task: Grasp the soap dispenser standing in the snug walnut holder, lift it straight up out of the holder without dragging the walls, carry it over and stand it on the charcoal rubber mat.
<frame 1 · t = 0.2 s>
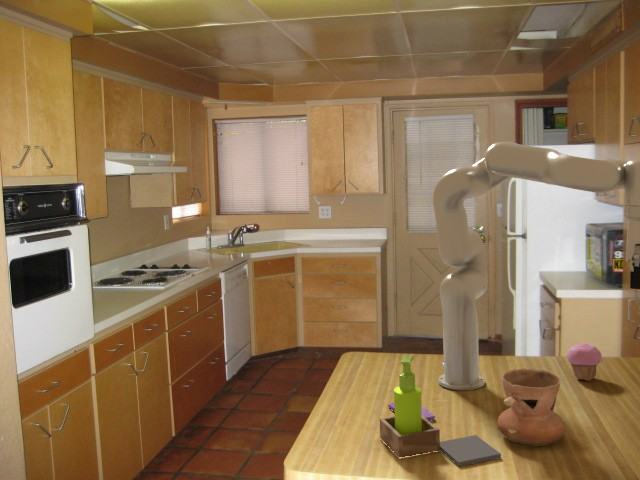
soap dispenser: (409, 446, 147), resting in holder
ceramic jug: (532, 438, 148), on the worktop
sponges: (411, 416, 164), on the worktop
cupcake: (584, 379, 183), on the worktop
holder: (409, 445, 146), on the worktop
mat: (467, 452, 142), on the worktop
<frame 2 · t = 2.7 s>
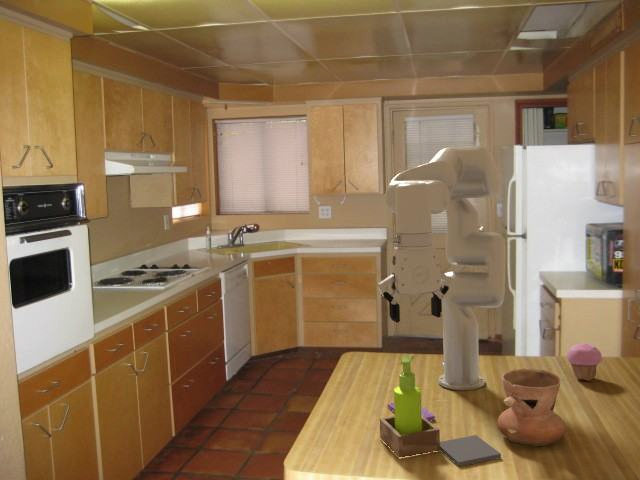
hand: (415, 318, 143), 29 cm above the worktop, tool pointing down, fingers open, 9 cm apart
nothing on the worktop moved.
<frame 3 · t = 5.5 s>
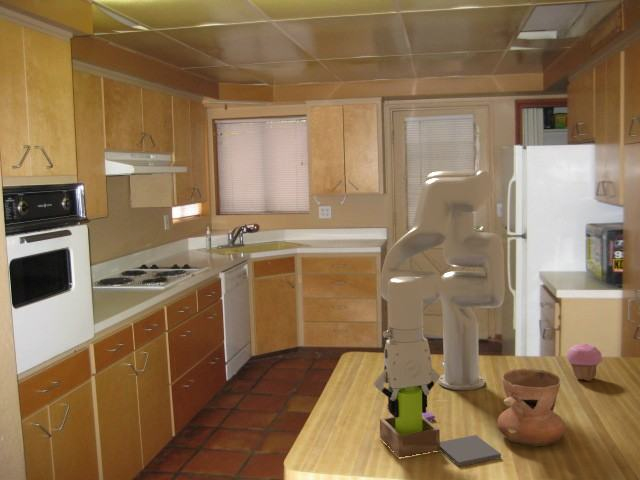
hand: (408, 412, 145), 8 cm above the worktop, tool pointing down, fingers closed on soap dispenser, 5 cm apart
soap dispenser: (409, 445, 146), resting in holder, touching gripper
everything else where it was.
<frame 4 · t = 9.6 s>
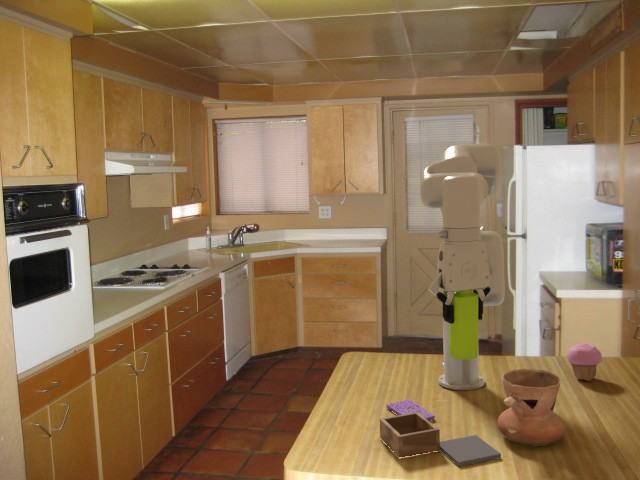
hand: (463, 319, 138), 29 cm above the worktop, tool pointing down, fingers closed on soap dispenser, 5 cm apart
soap dispenser: (464, 355, 139), point 22 cm above the worktop, touching gripper
everything else where it was.
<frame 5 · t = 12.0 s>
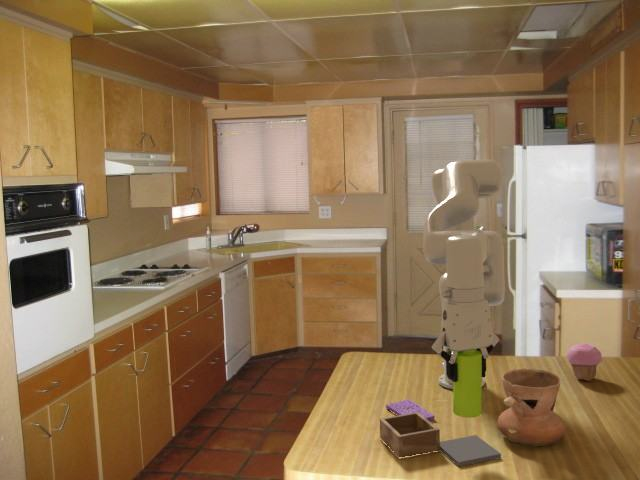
hand: (466, 376, 140), 17 cm above the worktop, tool pointing down, fingers closed on soap dispenser, 5 cm apart
soap dispenser: (467, 412, 141), point 9 cm above the worktop, touching gripper
everything else where it was.
when the fingers open (9 cm above the worktop, at t = 14.0 s): soap dispenser stays where it is, resting on mat.
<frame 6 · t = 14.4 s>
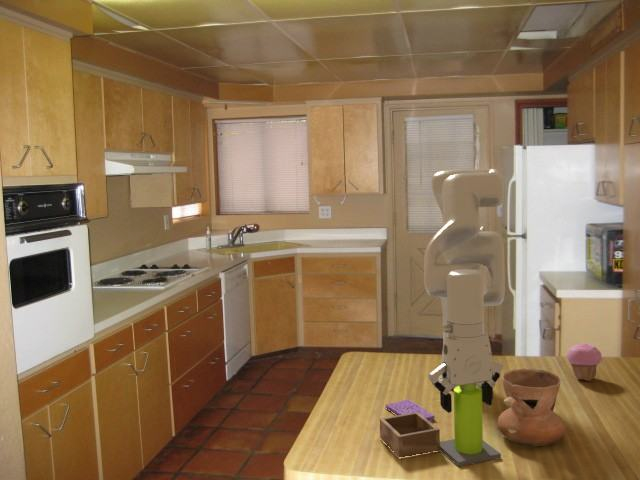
hand: (466, 406, 140), 10 cm above the worktop, tool pointing down, fingers open, 9 cm apart
soap dispenser: (468, 447, 142), point 1 cm above the worktop, touching mat
everything else where it was.
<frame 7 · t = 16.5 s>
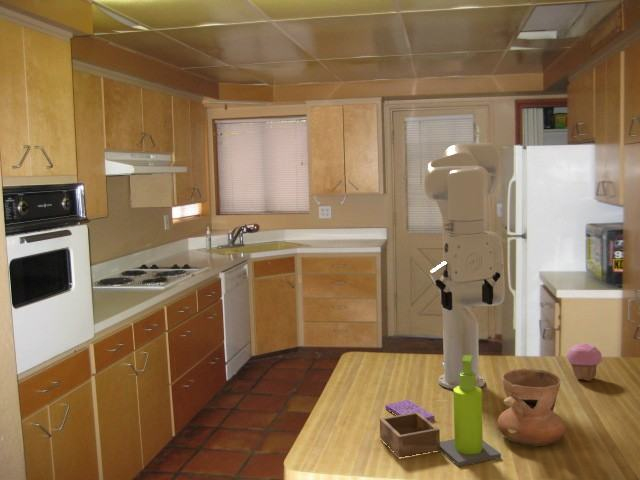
hand: (467, 306, 142), 31 cm above the worktop, tool pointing down, fingers open, 9 cm apart
nothing on the worktop moved.
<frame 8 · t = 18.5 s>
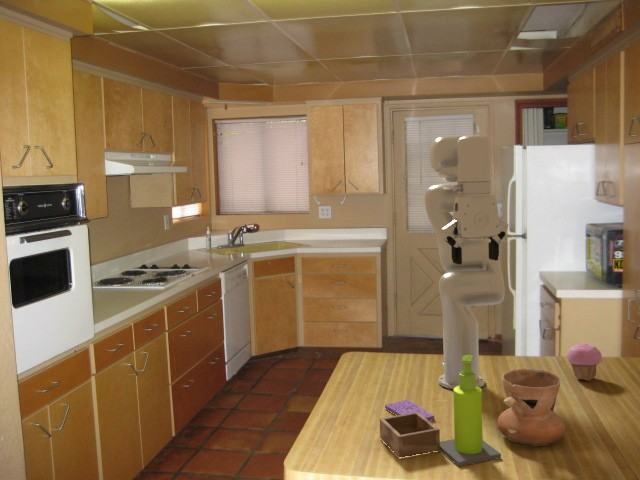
hand: (475, 261, 155), 38 cm above the worktop, tool pointing down, fingers open, 9 cm apart
nothing on the worktop moved.
at the end: soap dispenser inside the target area on the mat (0.6 cm from its centre), point 0.8 cm above the mat's base; soap dispenser tilted 0°; the gripper is holding nothing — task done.
